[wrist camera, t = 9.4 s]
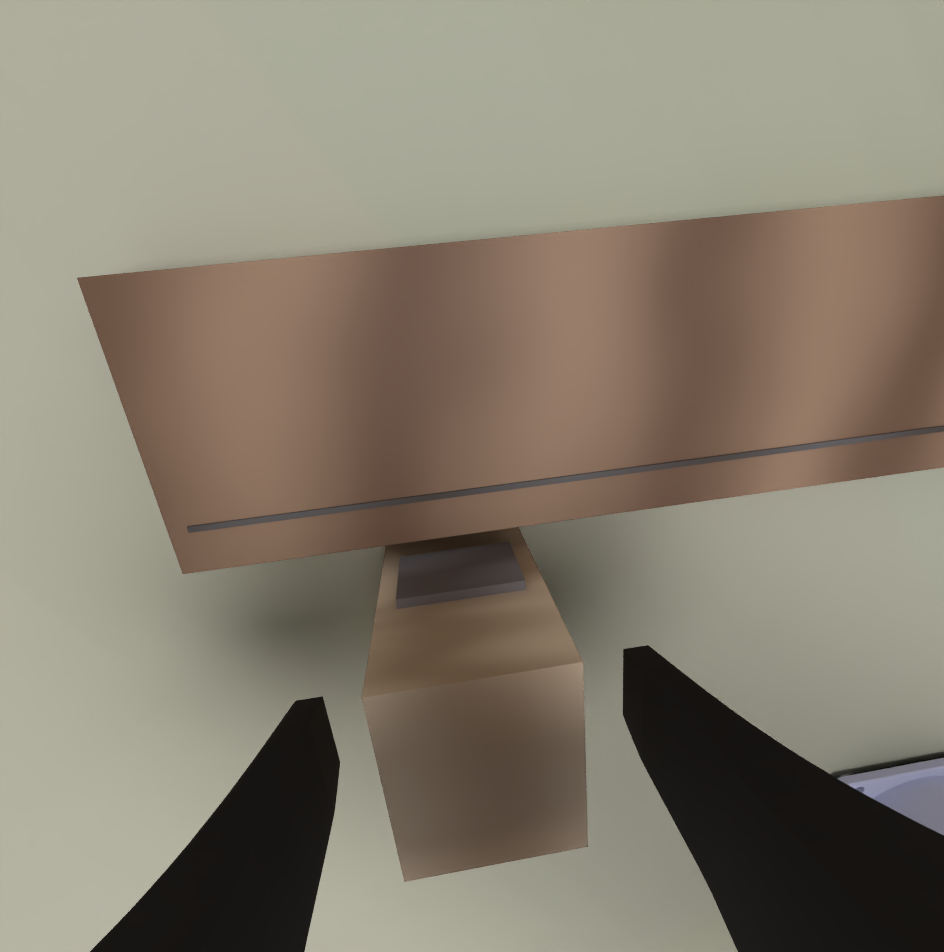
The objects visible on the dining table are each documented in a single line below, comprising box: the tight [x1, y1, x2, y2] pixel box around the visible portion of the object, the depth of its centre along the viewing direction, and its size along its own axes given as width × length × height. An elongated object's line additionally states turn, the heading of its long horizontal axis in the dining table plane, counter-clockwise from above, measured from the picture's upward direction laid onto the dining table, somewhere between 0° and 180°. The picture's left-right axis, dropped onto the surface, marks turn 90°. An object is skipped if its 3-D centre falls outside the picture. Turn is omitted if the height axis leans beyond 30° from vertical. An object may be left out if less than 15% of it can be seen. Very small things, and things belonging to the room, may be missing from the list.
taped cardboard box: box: [362, 527, 588, 882], centre depth 12 cm, size 4×5×6 cm
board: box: [77, 196, 944, 574], centre depth 12 cm, size 28×7×2 cm, turn 96°
